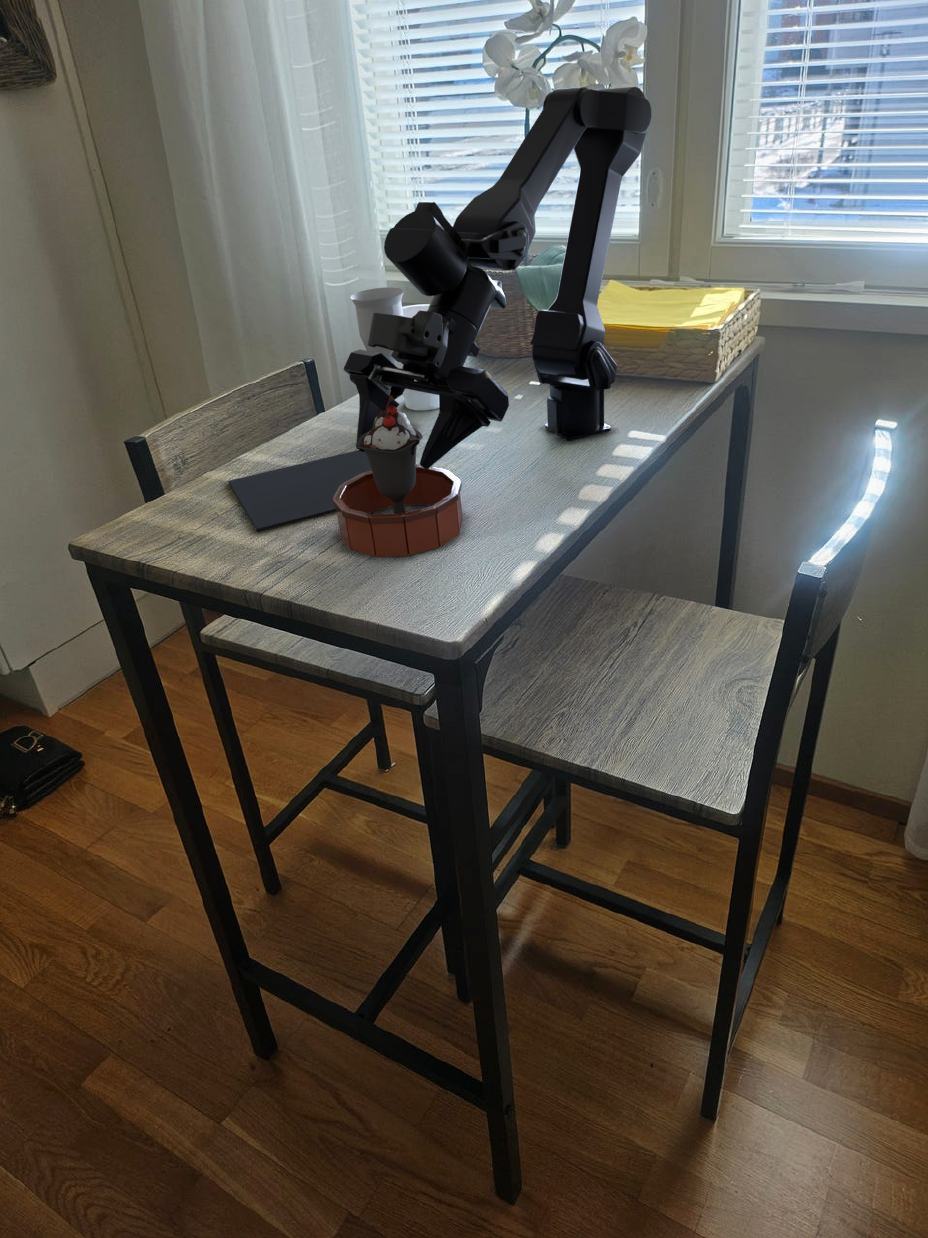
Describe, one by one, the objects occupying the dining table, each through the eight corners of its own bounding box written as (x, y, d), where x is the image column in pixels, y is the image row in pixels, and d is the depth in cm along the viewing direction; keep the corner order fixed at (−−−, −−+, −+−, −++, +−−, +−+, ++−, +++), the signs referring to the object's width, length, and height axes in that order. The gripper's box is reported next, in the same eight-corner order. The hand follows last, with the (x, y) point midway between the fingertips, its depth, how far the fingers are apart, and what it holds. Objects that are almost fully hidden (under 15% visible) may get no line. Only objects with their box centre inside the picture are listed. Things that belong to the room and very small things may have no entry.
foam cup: (457, 411, 125) (449, 317, 118) (393, 416, 126) (380, 323, 119) (458, 390, 133) (450, 301, 126) (398, 395, 134) (387, 307, 127)
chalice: (412, 439, 117) (395, 299, 107) (363, 440, 118) (342, 301, 109) (425, 420, 123) (410, 286, 113) (378, 421, 124) (360, 288, 115)
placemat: (379, 447, 115) (379, 445, 115) (425, 489, 103) (424, 485, 102) (228, 483, 109) (228, 480, 109) (257, 532, 97) (256, 528, 96)
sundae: (410, 546, 90) (391, 404, 82) (358, 535, 94) (336, 397, 86) (445, 520, 95) (430, 383, 87) (394, 510, 98) (376, 377, 90)
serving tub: (435, 492, 102) (431, 455, 99) (483, 535, 91) (480, 496, 89) (326, 520, 98) (319, 483, 95) (363, 569, 87) (357, 528, 85)
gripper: (342, 269, 90) (279, 406, 89) (482, 282, 79) (411, 438, 78) (405, 329, 99) (347, 454, 98) (538, 348, 88) (475, 489, 87)
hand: (390, 458), depth 90 cm, fingers open, 9 cm apart
